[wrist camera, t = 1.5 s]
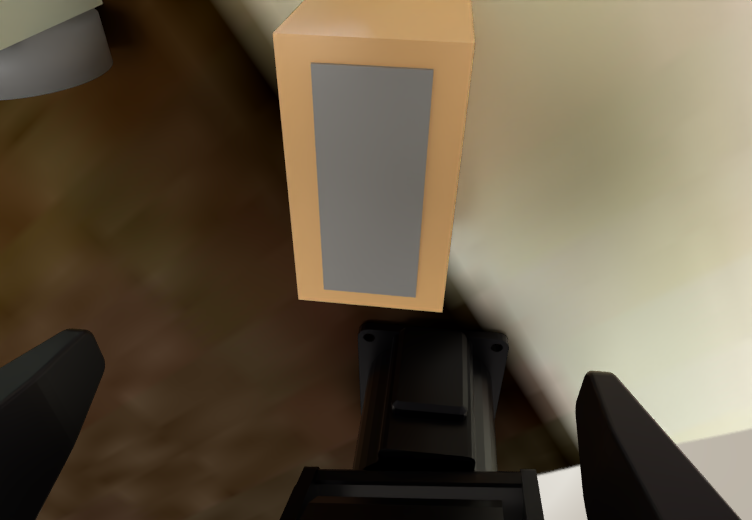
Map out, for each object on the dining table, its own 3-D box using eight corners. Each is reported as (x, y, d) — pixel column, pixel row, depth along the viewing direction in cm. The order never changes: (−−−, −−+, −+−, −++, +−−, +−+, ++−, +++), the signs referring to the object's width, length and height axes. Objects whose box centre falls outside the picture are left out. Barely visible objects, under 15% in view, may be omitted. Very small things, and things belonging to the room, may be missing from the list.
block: (444, 222, 21) (442, 314, 17) (328, 213, 21) (297, 301, 17) (470, -8, 16) (475, 44, 12) (317, -14, 16) (271, 34, 12)
